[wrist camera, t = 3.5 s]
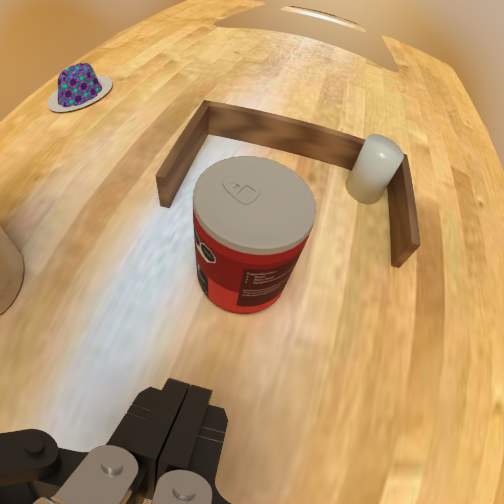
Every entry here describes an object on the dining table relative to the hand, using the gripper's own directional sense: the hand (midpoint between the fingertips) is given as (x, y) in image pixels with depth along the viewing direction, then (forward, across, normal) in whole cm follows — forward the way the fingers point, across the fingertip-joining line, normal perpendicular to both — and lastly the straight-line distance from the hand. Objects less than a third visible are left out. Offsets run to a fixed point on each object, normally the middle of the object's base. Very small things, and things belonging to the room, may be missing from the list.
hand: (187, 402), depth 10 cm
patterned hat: (+37, +35, -16) cm, 53 cm away
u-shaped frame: (+28, -3, -7) cm, 29 cm away
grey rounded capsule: (+30, -11, -10) cm, 34 cm away
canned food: (+20, 0, +1) cm, 20 cm away
